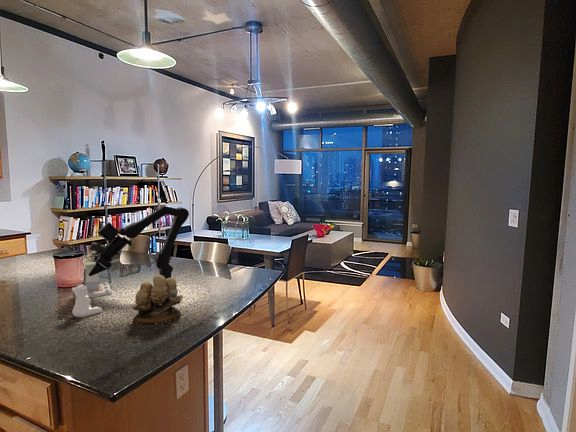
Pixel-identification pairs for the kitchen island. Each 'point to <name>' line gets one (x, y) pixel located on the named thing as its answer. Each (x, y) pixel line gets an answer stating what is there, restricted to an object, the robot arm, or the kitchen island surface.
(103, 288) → the baseplate
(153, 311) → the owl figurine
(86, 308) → the seated beast figurine
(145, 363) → the kitchen island surface
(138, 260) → the kitchen island surface
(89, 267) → the grey green upright block
